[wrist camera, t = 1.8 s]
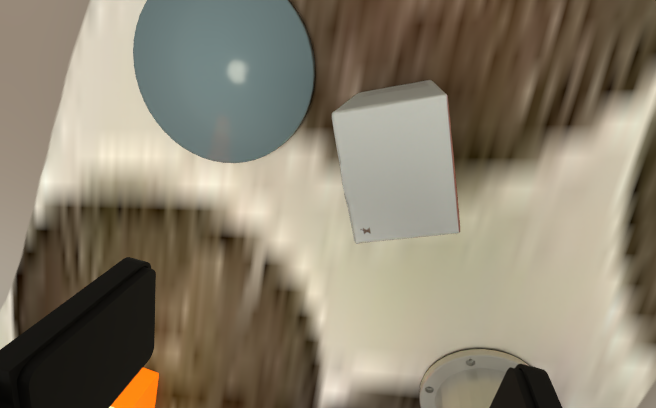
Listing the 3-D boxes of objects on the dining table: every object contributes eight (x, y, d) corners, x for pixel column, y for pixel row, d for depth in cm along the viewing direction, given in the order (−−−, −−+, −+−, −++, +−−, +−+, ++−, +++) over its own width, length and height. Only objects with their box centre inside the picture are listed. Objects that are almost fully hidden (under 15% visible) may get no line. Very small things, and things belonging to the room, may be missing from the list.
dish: (331, -15, 31) (328, -17, 30) (299, 177, 37) (296, 180, 36) (142, -51, 33) (133, -55, 32) (141, 138, 39) (133, 141, 38)
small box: (443, 173, 35) (462, 236, 23) (370, 182, 36) (352, 247, 24) (433, 76, 32) (448, 91, 20) (355, 91, 34) (327, 112, 22)
